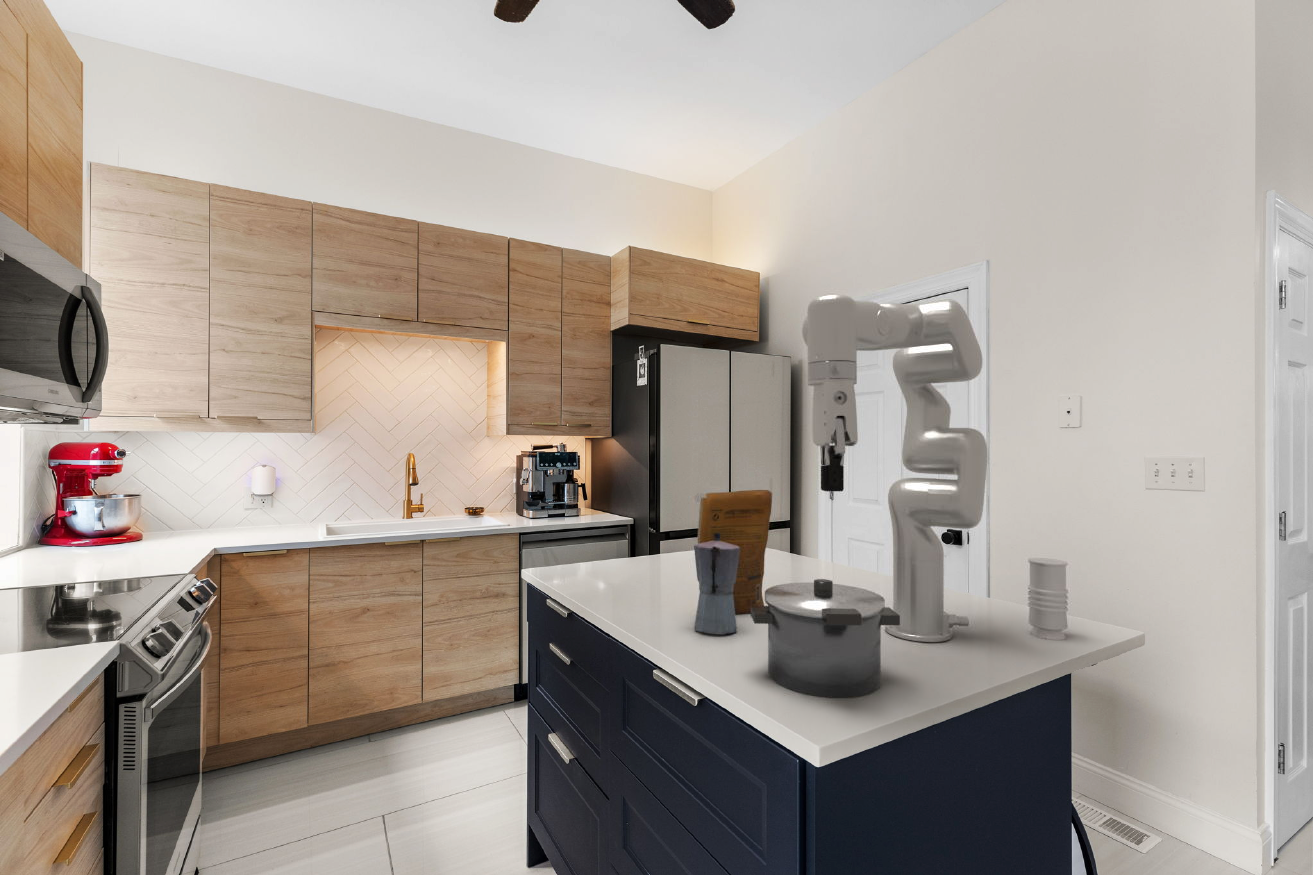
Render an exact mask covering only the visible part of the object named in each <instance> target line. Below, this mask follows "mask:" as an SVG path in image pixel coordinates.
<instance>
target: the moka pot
mask: <svg viewBox="0 0 1313 875" xmlns="http://www.w3.org/2000/svg"><path fill="white" fill-rule="evenodd" d="M720 536H721V534H720V533H714V539H715V540H714V541H710V542H705V543H700V544H698V543H696V544H694V546H693V549H694V560H695V568H696V569H695V570H696V578H697V582H698V590H699V593H698V594H699V595H698V601H697V609H696V616H695V622H694V628H693V629H694V630H696V631H697V632H700V633H704V634H710V635H727V634H734V633H736V632H737V631H738V630H737V628H738V626H737V619H736V614H735V608H734V598H733V589H734V583H735V582H736V575H737V567H738V560H739V553H740V547H738V546H735V545H732V544H729V543H726V542H722V541H720Z"/></svg>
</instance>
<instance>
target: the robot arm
mask: <svg viewBox="0 0 1313 875" xmlns="http://www.w3.org/2000/svg"><path fill="white" fill-rule="evenodd" d="M801 330H802V331H801V333H802V338H803V341H804V344H805V345H806V347H807V386H810V387H813V394H812V417H811V419H812V420H811V421H812V424H811V427H812V429H811V430H812V442H813V443H814V444H815V445H816V446H817V447H819V452H820V490H821V491H824V492H843V491H844V489H845V488H844V486H845V485H844V484H845V481H844V480H845V478H844V476H845V475H844V474H845V473H844V472H845V471H844V470H845V469H844V467H845V466H844V464H845V454H846V447H854V446H856V445H857V444H858V441H859V440H858V434H859V433H858V418H857V417H858V415H857V414H858V413H857V400H856V392H855V391H856V390H855V385H857V383H858V382H857V381H858V380H857V379H858V378H857V377H858V376H857V375H858V374H857V373H858V371H857V368H858V365H857V363H858V361H857V360H858V359H857V355H858V354H857V352H858V351H866V352H867V351H868V352H869V351H870V352H874V351H883V350H894V349H895V350H896V351H895V353H894V354H893V358H892V368H893V369H892V370H893V373H894V376H895V378H896V382H897V383H898V386H899V388H900V391H901V393H902V395H903V398H904V401H905V406H906V416H905V417H906V418H905V426H904V434H903V440H902V451H901V454H902V455H901V461H902V464H903V466H904V467H905V469H906V470H908V471H910V472H913V473H918V474H925V475H926V474H927V475H929V474H931V475H950V476H951V475H953V476H954V475H955V476H957V478H956V479H947V478H945V479H943V478H934V477H933V478H931V477H930V478H928V477H906V478H901V479H898V480H896V481H895V482H893V483H892V485H891V486H890V487H889V490H888V494H887V503H888V508H889V510H888V511H889V515H890V519H891V520H890V521H891V530H892V557H893V559H892V560H893V561H892V562H893V563H892V564H893V565H892V568H893V570H892V572H893V574H892V575H893V576H892V578H893V581H892V585H893V586H892V587H893V588H892V592H893V593H892V599H893V600H892V602H893V604H892V606H893V607H892V610H893V611H895V612H896V613H897V614H898V615H900V625H884V630H885V631H886V632H887V633H888V634H889V635H890V636H891V635H892V636H894V637H896V638H899V639H904V640H908V641H912V642H913V641H914V642H920V643H921V642H922V643H941V642H946V641H949V640H951V639H952V637H953V631H952V628H953V627H954V626H956V627H957V626H958V627H969V625H970V620H969V617H968V616H963V615H962V616H960V615H958V616H957V614H953V613H952V614H949V613H947V612H946V611H944V610H945V609H944V608H945V606H944V605H945V604H944V603H945V602H944V600H945V599H944V598H945V596H944V595H945V594H944V592H945V590H944V586H945V584H944V583H945V582H944V581H945V580H944V578H945V577H944V576H945V575H944V574H945V573H944V571H945V570H944V566H945V565H944V563H945V562H944V559H945V558H944V556H945V554H944V546H943V543H942V542H941V540H940V538H939V536H938V535H937V534H936V532H935V530H934V529H932V527H937V528H938V527H939V528H950V529H961V530H962V529H963V530H964V529H969V530H970V529H972V528H976V527H977V526H978V524H980V522H981V520H982V516H983V512H984V502H985V493H986V479H987V469H988V468H987V467H988V446H987V445H988V444H987V442H986V438H985V436H984V434H983V433H981V431H979V430H977V429H975V428H971V427H950V424H951V414H952V413H951V411H952V410H951V406H950V403H949V402H948V401H947V400H946V398H945V397H944V395H942V393H941V392H940V391H938V390H937V389H936V387H934V386H933V384H945V383H963V382H968V381H972V380H974V379H976V378H978V376H979V375H980V373H981V371H982V368H983V355H982V354H983V353H982V350H981V347H980V344H979V341H978V338H977V336H976V334H975V333H976V332H975V331H974V328H973V325H972V323H971V320H970V318H969V316H968V315H967V313H966V310H965V309H964V307H963V306H962V305H961V304H960V303H959V302H957V301H956V300H955V299H942V300H935V301H934V300H933V301H927V302H920V303H913V304H912V303H909V304H908V303H907V304H906V303H892V302H886V303H885V302H884V303H877V302H874V301H868V300H867V301H865V300H863V301H862V300H854V299H853V297H851V296H848V295H842V294H832V295H831V294H830V295H823V296H819V297H816V298H813V299H812V300H811V301H810V302H809V304H808V306H807V316H806V317H805V319H804V321H803V323H802V328H801ZM897 349H898V350H897Z"/></svg>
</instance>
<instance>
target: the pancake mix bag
mask: <svg viewBox="0 0 1313 875" xmlns="http://www.w3.org/2000/svg"><path fill="white" fill-rule="evenodd" d="M772 504H773V492H772V491H770V490H769V489H749V490H748V489H747V490H738V491H737V490H736V491H730V492H729V491H727V492H725V491H724V492H723V491H721V492H720V491H719V492H707V493H705V497H701V499H700V504H699V510H698V512H699V517H698V528H697V544H700V543H705V542H710V541H714V540H715V539H714V533H720V534H721V536H720V541H722V542H726V543H729V544H732V545H735V546H738V547H740V553H739V560H738V567H737V575H736V582H735V583H734V589H733V598H734V608H735V615H741V614H751V606H765V601H764V599H763V597H764V596H763V580H764V575H765V555H766V554H765V553H766V549H767V545H768V541H769V531H770V529H769V528H770V519H771V515H772V508H773V507H772V506H773V505H772Z"/></svg>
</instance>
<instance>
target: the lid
mask: <svg viewBox="0 0 1313 875" xmlns="http://www.w3.org/2000/svg"><path fill="white" fill-rule="evenodd" d="M885 601H886V600H885V598H884V597H883V596H882V595H880V594H879V593H876V592H874V591H872V590H868V589H865V588H860V587H856V586H852V585H845V584H836V583H834V582H833V580H830V579H825V578H816V579H814V580H813V582H789V583H782V584H777V585H773V586H770V587H768V588H766V589H765V591H764V603H766V605H767V606H768V605H769V606H770V607H772V608H774V609H777V610H780V611H783V612H786V613H790V614H795V615H800V616H806V617H813V618H822V620H823V621H824V622H825V623H826V624H827V625H861V618H866V617H871V616H875V615H878V614H880V613H882V612H883V611H884V610H885V605H886V604H885Z"/></svg>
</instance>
